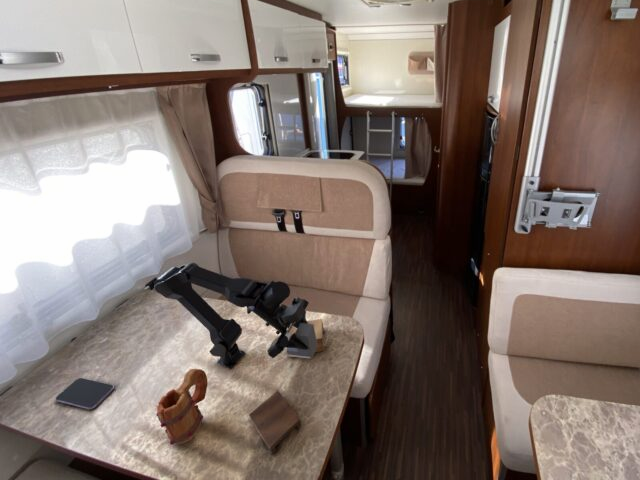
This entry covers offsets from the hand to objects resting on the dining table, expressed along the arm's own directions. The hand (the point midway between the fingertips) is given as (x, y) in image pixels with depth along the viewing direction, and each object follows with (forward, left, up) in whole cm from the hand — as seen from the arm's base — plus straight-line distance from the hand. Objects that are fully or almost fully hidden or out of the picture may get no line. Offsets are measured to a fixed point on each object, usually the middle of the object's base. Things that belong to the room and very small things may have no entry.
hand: (310, 342), depth 94 cm
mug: (-25, -25, -13) cm, 37 cm away
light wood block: (-8, +8, -12) cm, 17 cm away
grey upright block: (-3, -1, -4) cm, 5 cm away
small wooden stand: (-2, -18, -12) cm, 22 cm away
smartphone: (-66, -31, -13) cm, 74 cm away
